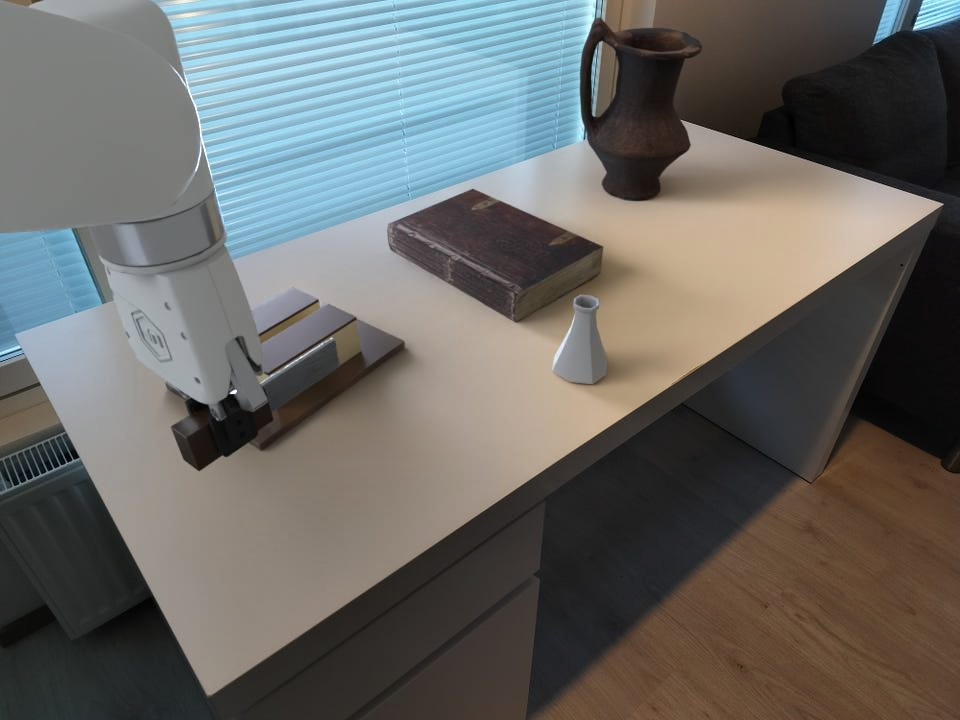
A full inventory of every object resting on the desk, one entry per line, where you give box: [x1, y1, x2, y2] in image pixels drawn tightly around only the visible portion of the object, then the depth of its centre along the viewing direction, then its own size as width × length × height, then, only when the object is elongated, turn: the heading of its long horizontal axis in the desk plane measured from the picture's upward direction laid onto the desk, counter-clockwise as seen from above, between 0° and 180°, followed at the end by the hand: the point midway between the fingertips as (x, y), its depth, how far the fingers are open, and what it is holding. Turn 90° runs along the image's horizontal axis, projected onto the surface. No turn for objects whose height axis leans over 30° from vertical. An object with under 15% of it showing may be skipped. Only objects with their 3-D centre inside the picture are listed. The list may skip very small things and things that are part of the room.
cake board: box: [164, 300, 406, 451], centre depth 88 cm, size 24×18×1 cm
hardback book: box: [386, 188, 604, 323], centre depth 107 cm, size 29×19×5 cm, turn 43°
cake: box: [251, 286, 361, 383], centre depth 86 cm, size 14×12×5 cm
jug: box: [579, 16, 703, 201], centre depth 122 cm, size 21×18×30 cm
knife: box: [170, 338, 340, 472], centre depth 55 cm, size 15×2×4 cm, turn 142°
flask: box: [551, 294, 608, 385], centre depth 84 cm, size 7×7×10 cm
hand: (228, 436), depth 53 cm, fingers closed on knife, 2 cm apart
